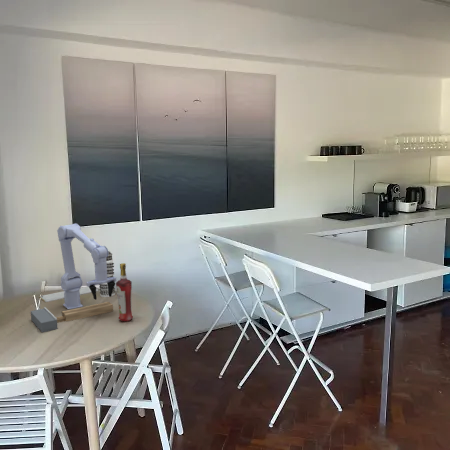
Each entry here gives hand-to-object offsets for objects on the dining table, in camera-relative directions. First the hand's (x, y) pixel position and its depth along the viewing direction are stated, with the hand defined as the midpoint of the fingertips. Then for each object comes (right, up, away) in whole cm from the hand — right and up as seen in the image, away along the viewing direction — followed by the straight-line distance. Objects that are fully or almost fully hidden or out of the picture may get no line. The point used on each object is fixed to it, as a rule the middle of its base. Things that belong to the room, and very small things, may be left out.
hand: (102, 297), depth 234 cm
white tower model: (-6, -4, +35) cm, 36 cm away
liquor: (+13, -10, -5) cm, 17 cm away
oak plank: (-10, -9, +2) cm, 14 cm away
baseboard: (-28, -5, +37) cm, 47 cm away
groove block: (-26, -11, -9) cm, 30 cm away
